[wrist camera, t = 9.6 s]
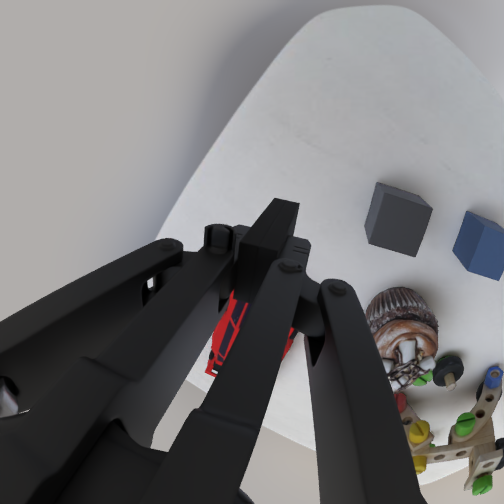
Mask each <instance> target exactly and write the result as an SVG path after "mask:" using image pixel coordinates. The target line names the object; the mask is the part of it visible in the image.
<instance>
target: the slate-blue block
mask: <svg viewBox="0 0 504 504" xmlns="http://www.w3.org/2000/svg"><path fill="white" fill-rule="evenodd" d="M452 251H453V252H454V254H455V255H456V256H457V258H458V259H459V260H460V262H461V263H462V264H463V266H464V267H465V268H466V270H467V271H469V272H472V273H475V274H478V275H482V276H485V277H488V278H491V279H494V280H497V281H499V280H500V278H501V275H502V273H503V271H504V229H503V228H502V227H501V226H500V225H498V224H497V223H495V222H493V221H490V220H488V219H486V218H483V217H481V216H478V215H476V214H473V213H471V212H468V211H466V214H465V217H464V220H463V223H462V226H461V229H460V232H459V235H458V237H457V240H456V243H455V245H454V248H453V250H452Z"/></svg>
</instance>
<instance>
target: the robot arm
mask: <svg viewBox="0 0 504 504" xmlns="http://www.w3.org/2000/svg"><path fill="white" fill-rule="evenodd" d="M299 204H300V203H296V202H291V201H287V200H282V199H278V198H274V199H273V200H272V202H271V203H270V204H269V205H268V207H267V208H266V209H265V210H264V212H263V213H262V214H261V215H260V217H259V218H258V219H257V220H256V222H255V223H254V224H253V225H252V227H248V226H244V225H237V226H234V227H232V226H229V225H224V224H211V225H208V226H206V227H205V232H204V246H203V247H202V248H201V249H200V250H199V251H198V252H189V251H183V244H182V242H180V241H178V240H175V239H172V238H165V239H160V240H157V241H154V242H152V243H150V244H148V245H146V246H144V247H142V248H140V249H137V250H135V251H133V252H131V253H129V254H127V255H125V256H123V257H121V258H119V259H117V260H115V261H113V262H111V263H108V264H107V265H105V266H102V267H101V268H98V269H97V270H95V271H93V272H91V273H89V274H87V275H85V276H83V277H81V278H79V279H77V280H75V281H74V282H71V283H69V284H67V285H66V286H64V287H62V288H60V289H58V290H56V291H54V292H52V293H51V294H49V295H47V296H45V297H43V298H41V299H40V300H38V301H36V302H34V303H33V304H31V305H29V306H27V307H25V308H23V309H22V310H20V311H18V312H17V313H15V314H13V315H11V316H9V317H8V318H6V319H4V320H3V321H1V322H0V504H254V502H253V501H252V500H251V499H250V498H249V497H248V495H247V494H245V493H244V492H243V491H242V490H241V489H240V488H239V487H240V484H241V482H242V479H243V477H244V474H245V471H246V469H247V466H248V463H249V460H250V457H251V454H252V452H253V449H254V446H255V443H256V440H257V437H258V435H259V432H260V428H261V425H262V422H263V419H264V416H265V413H266V410H267V407H268V403H269V400H270V397H271V394H272V391H273V387H274V384H275V381H276V378H277V374H278V371H279V368H280V364H281V361H282V357H283V354H284V351H285V347H286V344H287V340H288V336H289V333H290V329H291V327H292V328H294V329H296V330H297V331H299V332H301V333H303V334H305V335H304V344H305V352H306V360H307V368H308V376H309V385H310V393H311V402H312V411H313V421H314V431H315V442H316V453H317V465H318V476H319V491H320V504H427V502H426V501H425V499H424V498H423V496H422V494H421V492H420V488H419V483H418V479H417V474H416V470H415V466H414V462H413V458H412V454H411V451H410V447H409V443H408V440H407V436H406V432H405V429H404V426H403V422H402V419H401V416H400V412H399V409H398V406H397V403H396V400H395V396H394V393H393V390H392V387H391V384H390V381H389V378H388V376H387V373H386V370H385V367H384V364H383V361H382V359H381V356H380V353H379V350H378V348H377V345H376V342H375V340H374V337H373V334H372V332H371V329H370V327H369V324H368V322H367V319H366V317H365V314H364V312H363V309H362V307H361V304H360V302H359V300H358V297H357V295H356V292H355V290H354V289H353V287H352V286H351V285H349V284H348V283H347V282H345V281H342V280H338V279H326V280H324V281H323V282H322V283H321V284H319V283H317V282H315V281H313V280H312V279H311V278H309V277H308V275H307V274H306V266H307V262H308V257H309V253H310V249H311V244H310V242H309V241H308V240H307V239H303V238H298V237H294V236H293V234H294V229H295V224H296V219H297V214H298V209H299ZM152 277H153V287H151V288H148V285H147V280H149V279H151V278H152ZM233 290H234V293H233V299H235V300H238V301H242V302H245V303H249V304H252V305H251V307H250V309H249V311H248V313H247V316H246V318H245V320H244V322H243V324H242V326H241V328H240V330H239V332H238V334H237V336H236V338H235V340H234V342H233V344H232V346H231V348H230V350H229V352H228V354H227V356H226V358H225V360H224V362H223V364H222V366H221V368H220V370H219V372H218V374H217V375H216V377H215V379H214V381H213V383H212V385H211V387H210V389H209V391H208V393H207V395H206V397H205V399H204V401H203V403H202V404H201V406H200V407H199V408H197V409H194V410H193V411H192V412H191V413H190V414H189V416H188V417H187V419H186V420H185V422H184V424H183V426H182V428H181V430H180V431H179V433H178V435H177V437H176V439H175V441H174V442H173V444H172V446H171V448H170V450H169V452H164V451H160V450H155V449H151V448H150V447H151V444H152V439H153V434H154V431H155V429H156V427H157V425H158V424H159V422H160V420H161V419H162V417H163V415H164V413H165V412H166V410H167V409H168V407H169V405H170V404H171V402H172V400H173V399H174V397H175V395H176V394H177V392H178V390H179V389H180V387H181V385H182V384H183V382H184V380H185V379H186V377H187V375H188V374H189V372H190V370H191V368H192V367H193V365H194V363H195V362H196V360H197V358H198V357H199V355H200V353H201V352H202V350H203V348H204V347H205V345H206V343H207V341H208V340H209V338H210V336H211V335H212V333H213V331H214V330H215V328H216V326H217V325H218V323H219V321H220V319H221V318H222V316H223V314H224V313H225V311H226V309H227V308H228V306H229V302H230V295H231V293H232V291H233ZM29 409H30V410H29ZM26 410H29V411H28V412H24V413H20V412H23V411H26ZM19 413H20V414H19Z"/></svg>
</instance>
